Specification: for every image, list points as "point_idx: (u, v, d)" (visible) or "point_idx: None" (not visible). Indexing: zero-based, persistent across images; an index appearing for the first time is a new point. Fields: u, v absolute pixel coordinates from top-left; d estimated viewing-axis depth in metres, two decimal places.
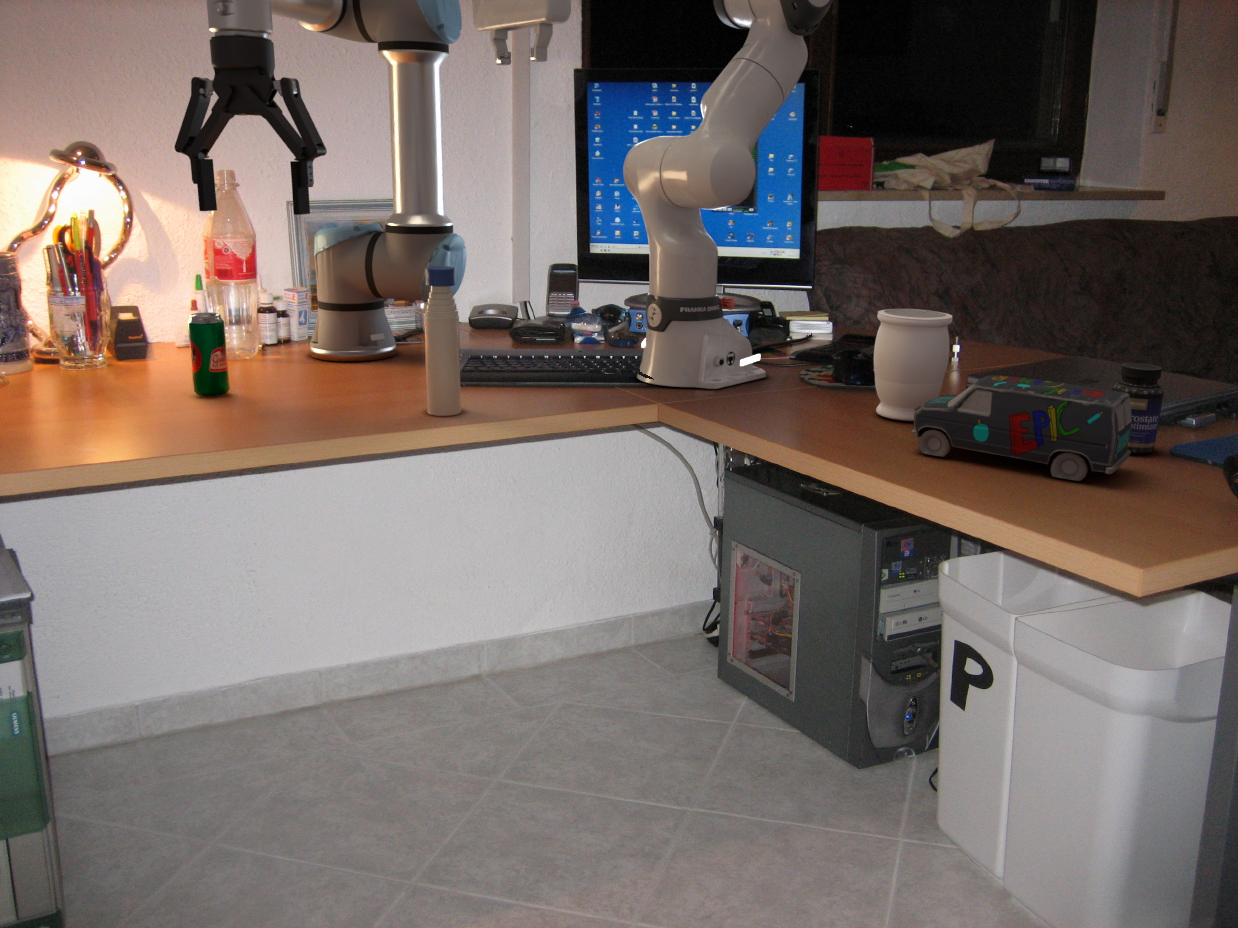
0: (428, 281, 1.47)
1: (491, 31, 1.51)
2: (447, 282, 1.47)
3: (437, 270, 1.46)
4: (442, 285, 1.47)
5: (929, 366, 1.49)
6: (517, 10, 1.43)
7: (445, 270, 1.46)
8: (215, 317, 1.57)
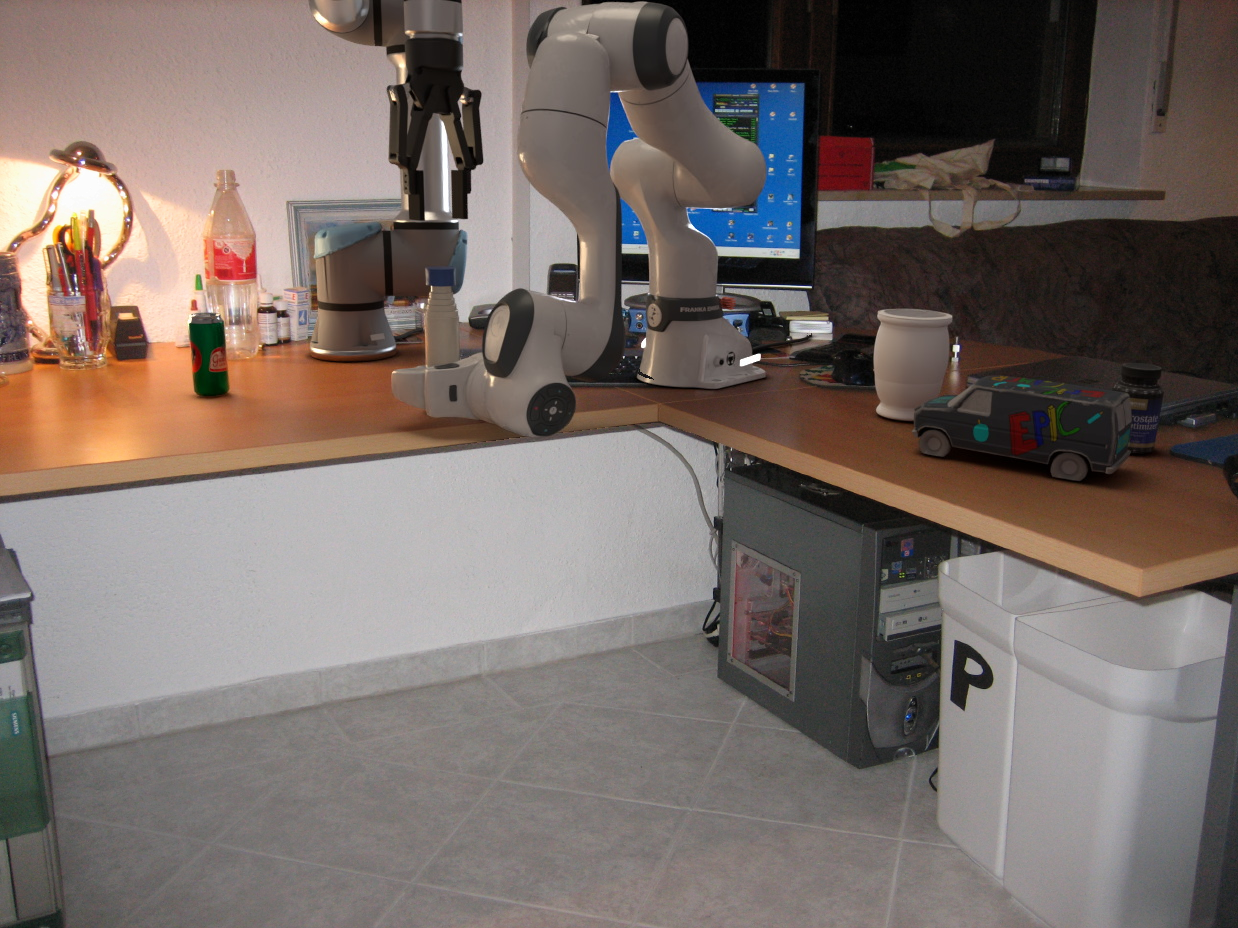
0: (428, 281, 1.47)
1: None
2: (447, 282, 1.47)
3: (437, 270, 1.46)
4: (442, 285, 1.47)
5: (929, 366, 1.49)
6: None
7: (445, 270, 1.46)
8: (215, 317, 1.57)
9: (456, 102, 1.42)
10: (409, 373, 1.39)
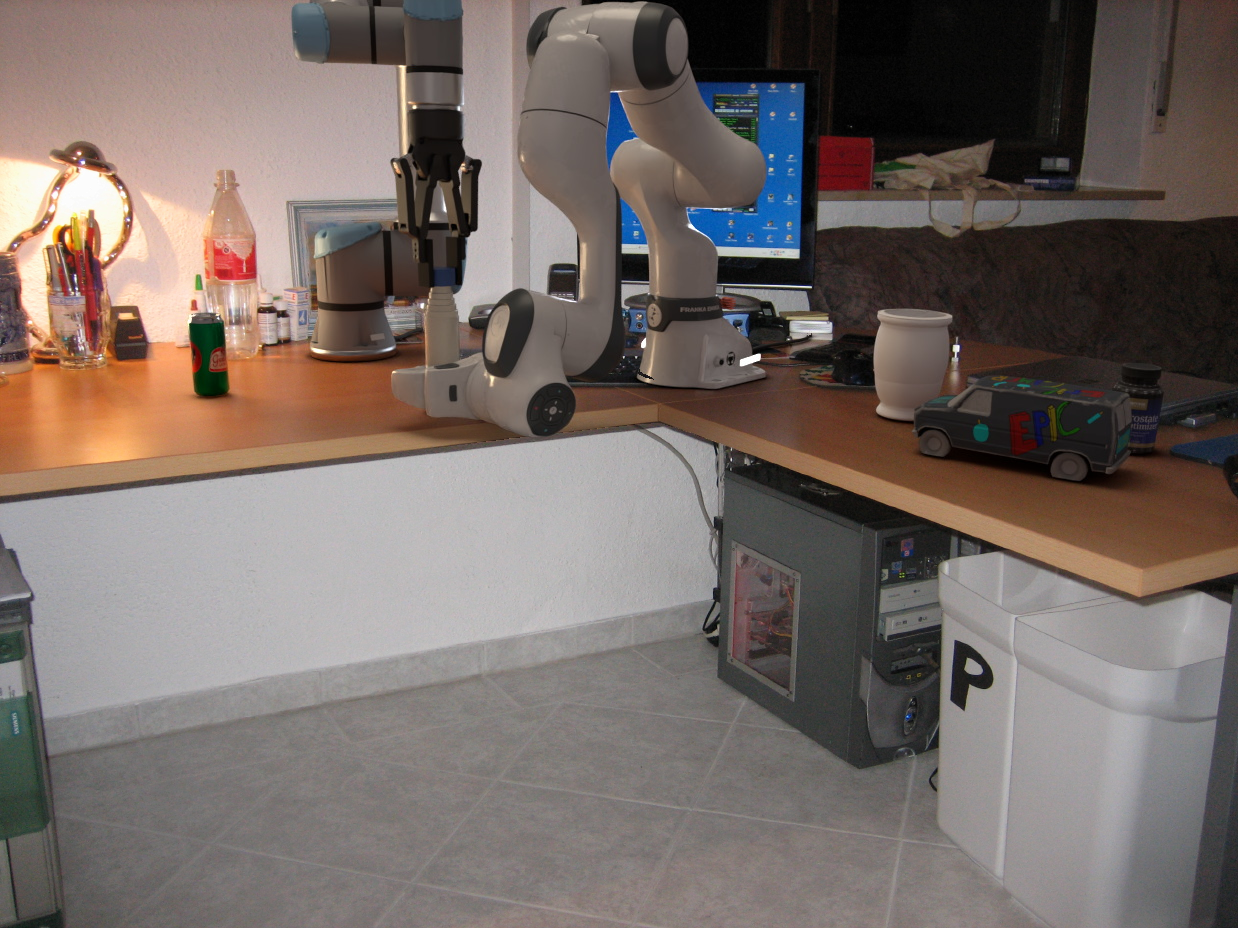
0: None
1: None
2: (447, 282, 1.47)
3: (437, 270, 1.46)
4: (442, 285, 1.47)
5: (929, 366, 1.49)
6: None
7: (445, 270, 1.46)
8: (215, 317, 1.57)
9: (457, 170, 1.45)
10: (409, 373, 1.39)
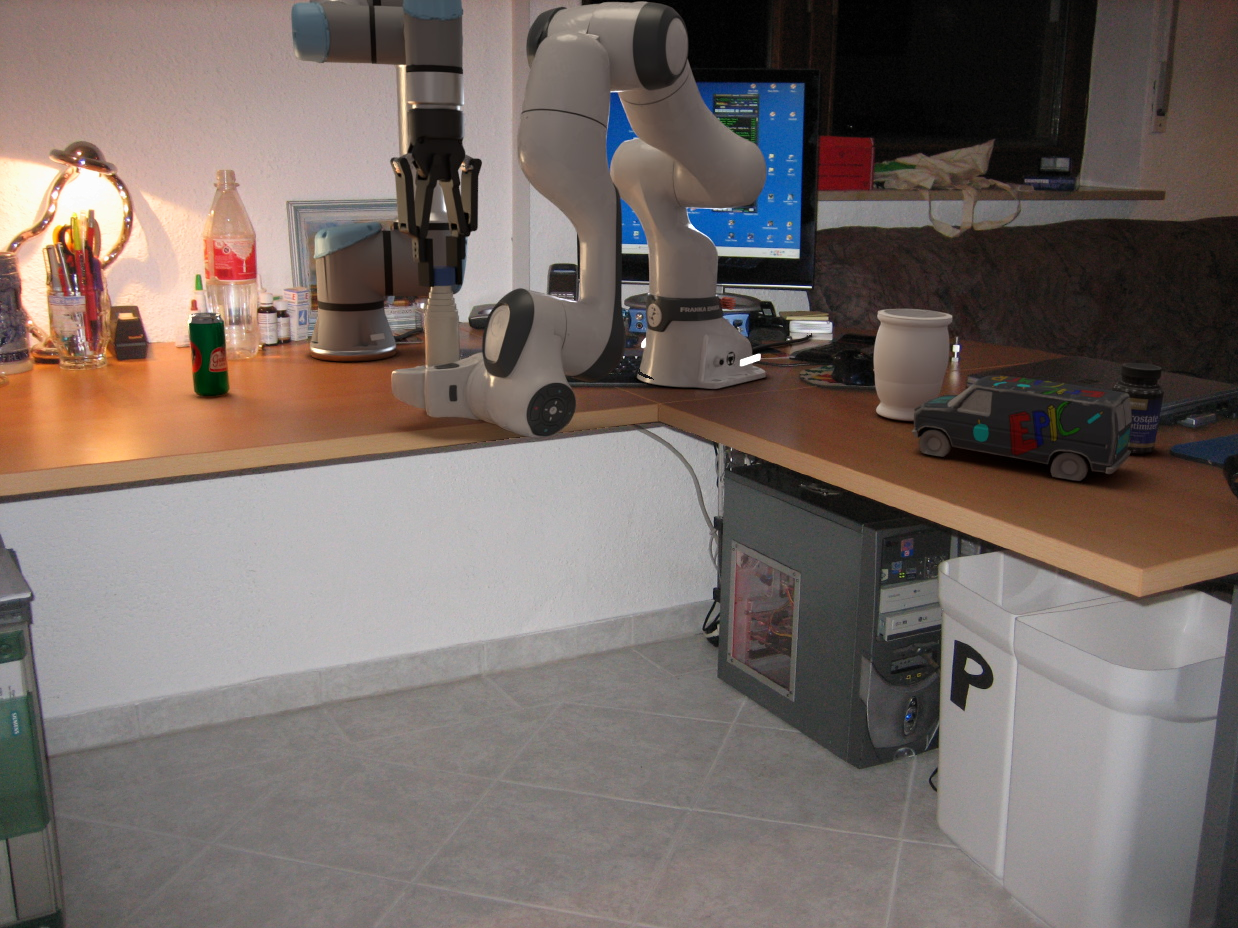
0: (447, 281, 1.47)
1: None
2: None
3: (454, 268, 1.48)
4: None
5: (929, 366, 1.49)
6: None
7: (454, 268, 1.49)
8: (215, 317, 1.57)
9: (457, 169, 1.45)
10: (409, 373, 1.39)
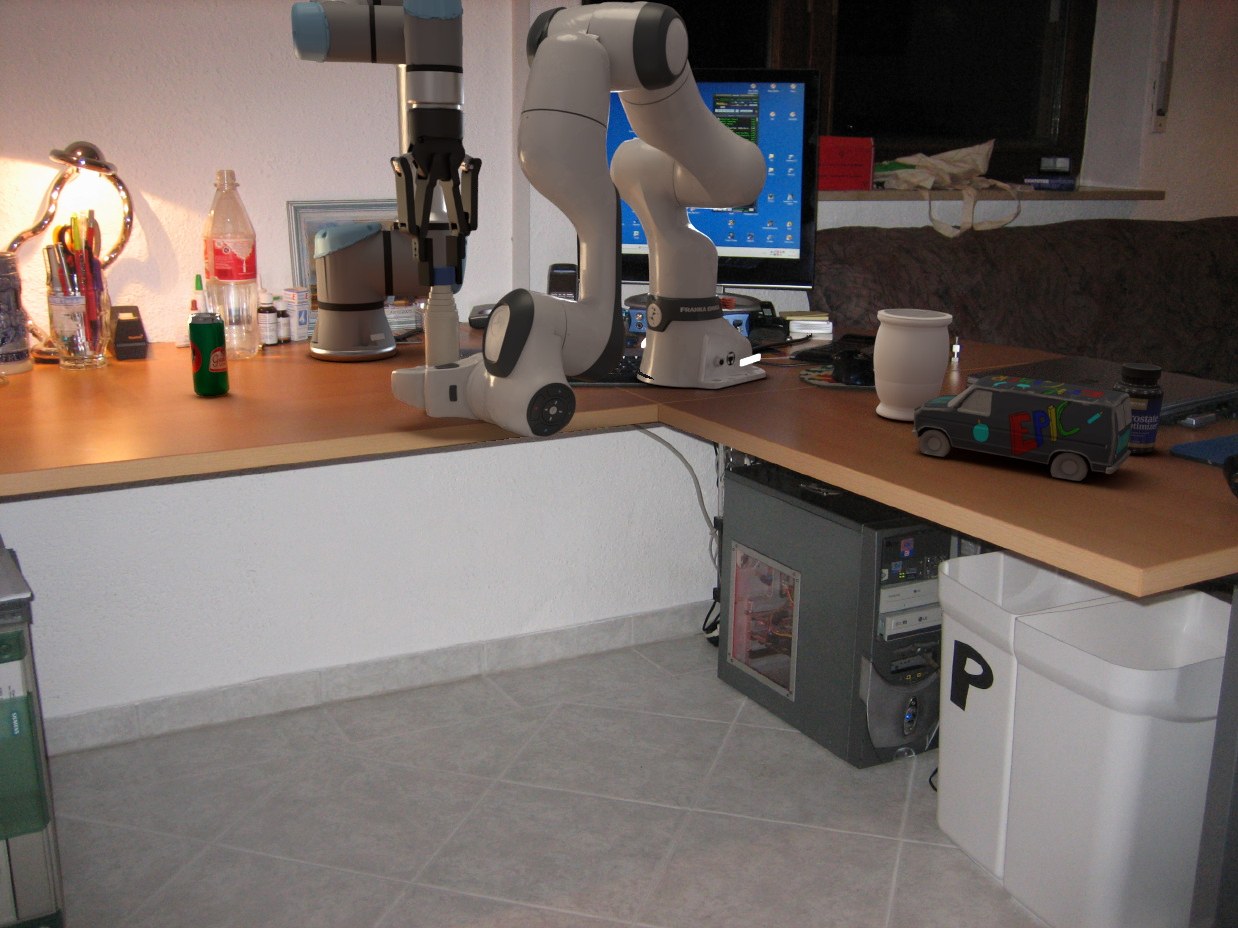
0: None
1: None
2: None
3: None
4: None
5: (929, 366, 1.49)
6: None
7: (438, 266, 1.50)
8: (215, 317, 1.57)
9: (457, 168, 1.45)
10: (409, 373, 1.39)
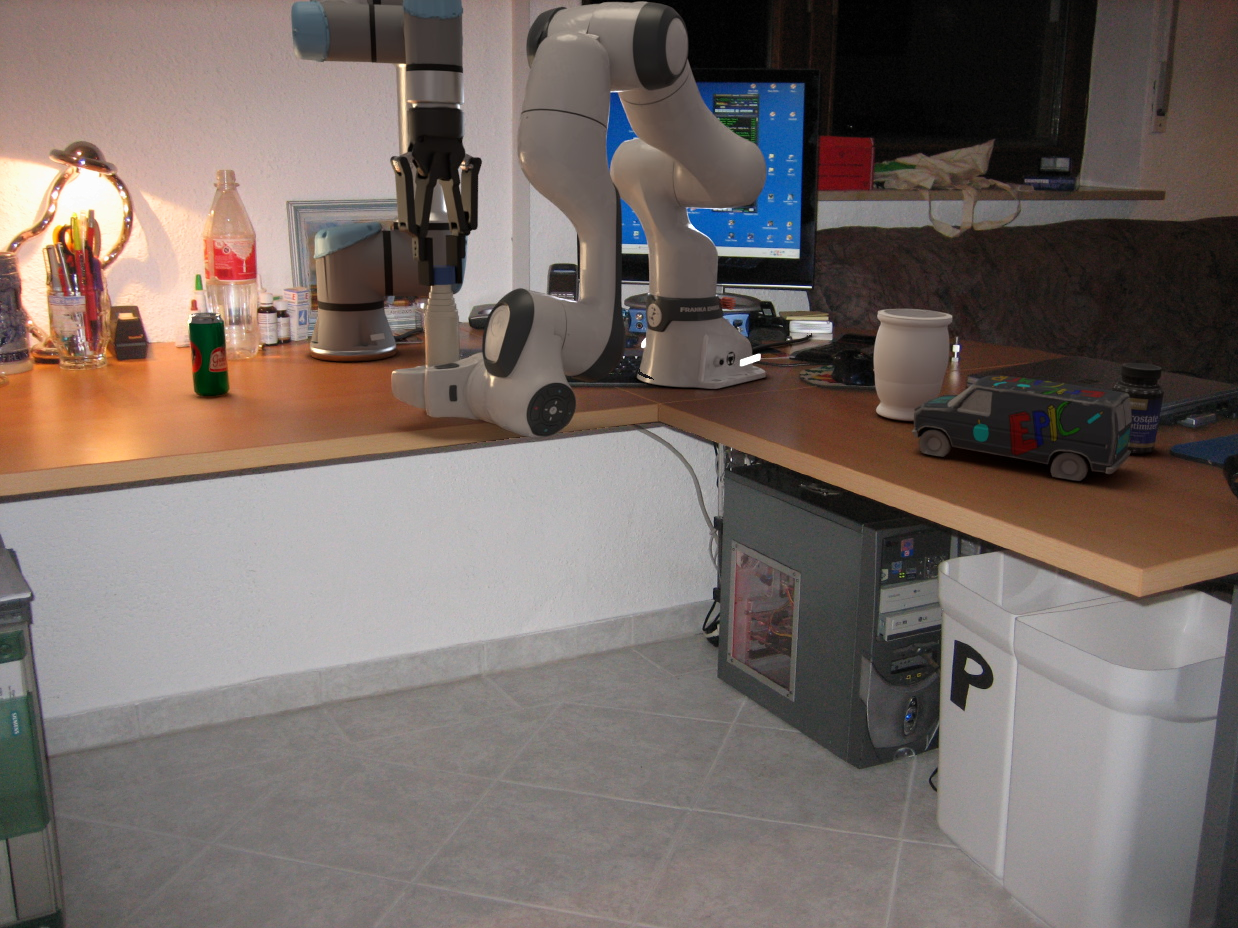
0: None
1: None
2: None
3: None
4: None
5: (929, 366, 1.49)
6: None
7: None
8: (215, 317, 1.57)
9: (457, 168, 1.45)
10: (409, 373, 1.39)
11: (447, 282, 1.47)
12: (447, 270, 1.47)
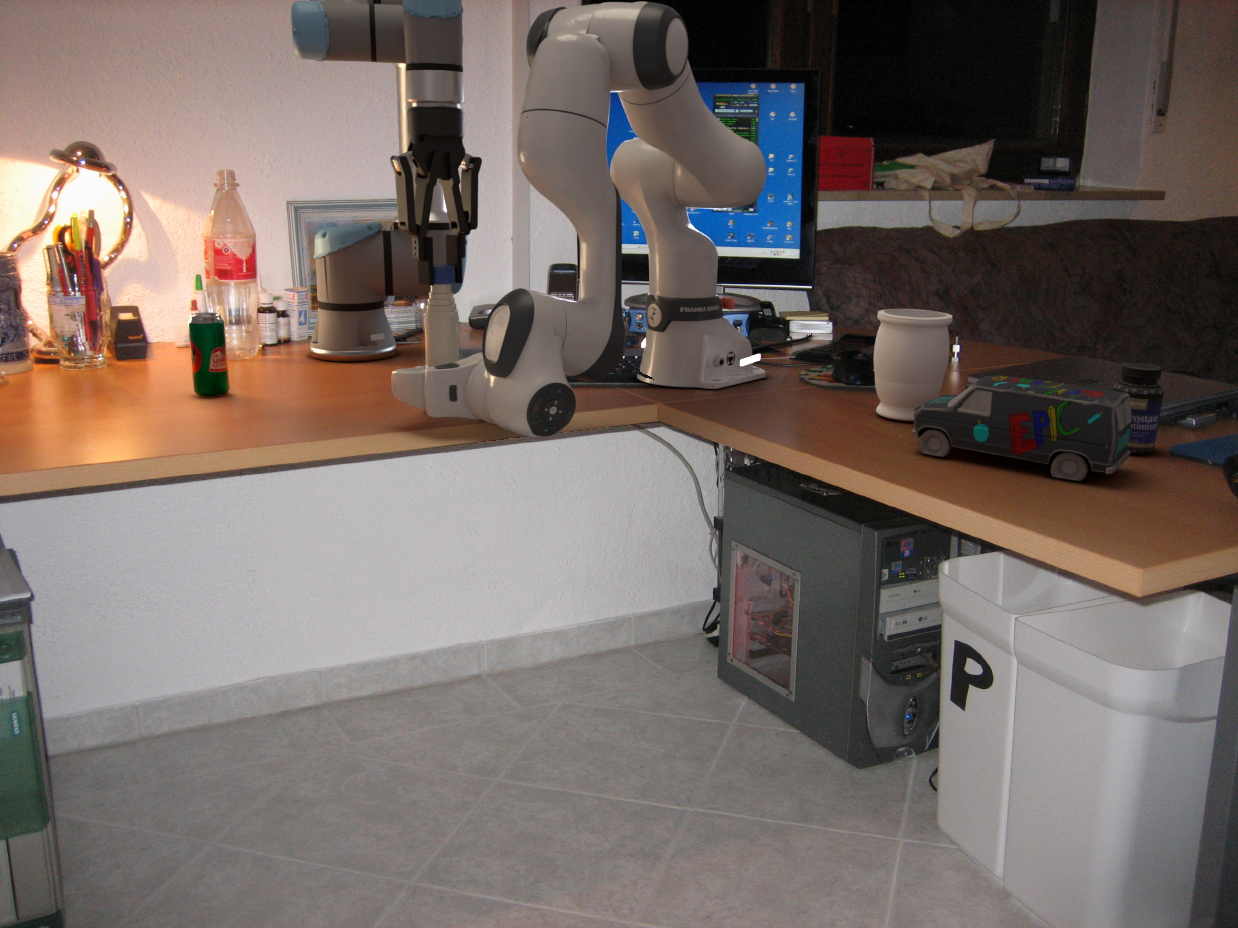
0: None
1: None
2: (441, 281, 1.47)
3: None
4: (435, 283, 1.47)
5: (929, 366, 1.49)
6: None
7: (438, 268, 1.46)
8: (215, 317, 1.57)
9: (457, 167, 1.44)
10: (409, 373, 1.39)
11: None
12: None
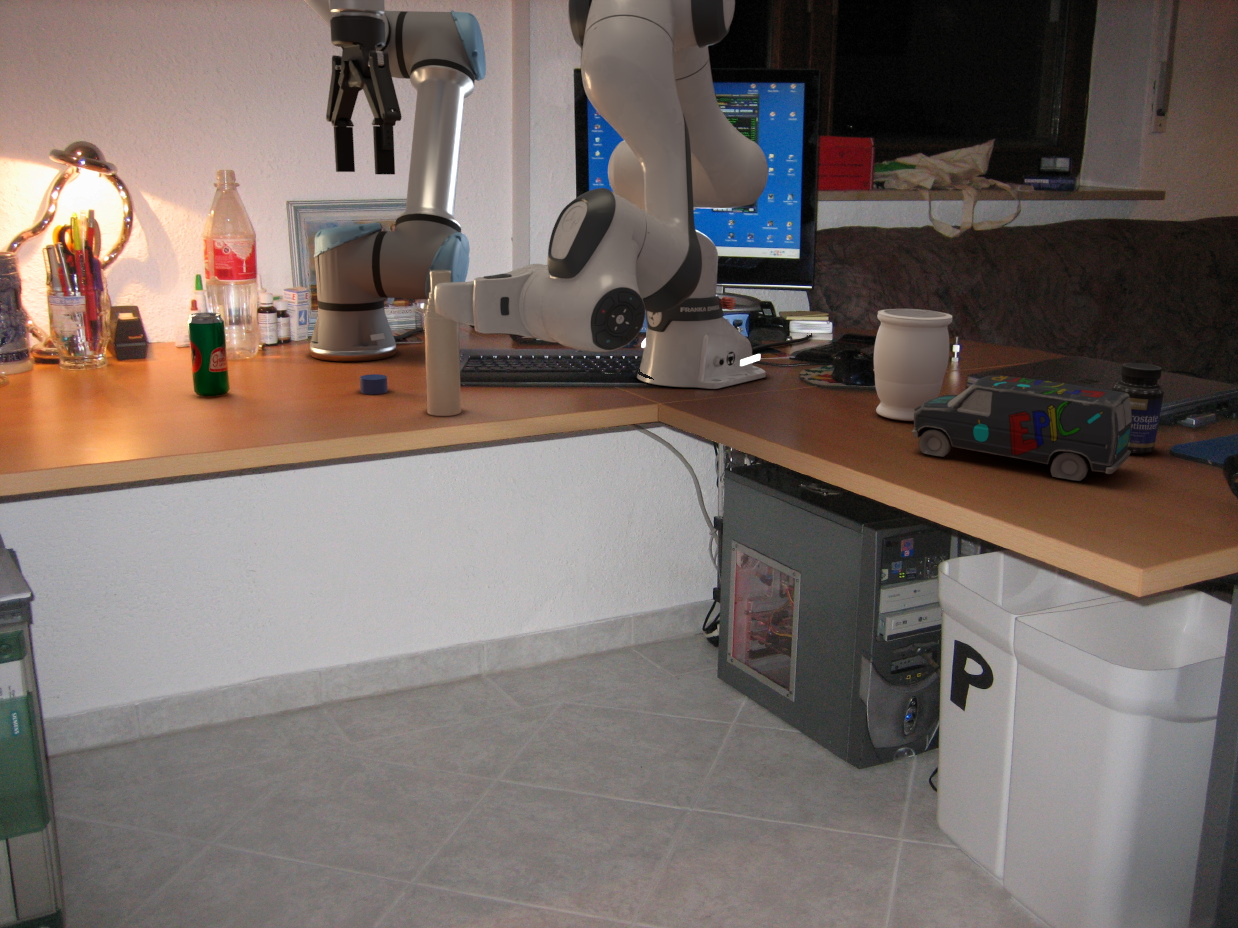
0: (373, 390, 1.64)
1: None
2: (386, 388, 1.66)
3: (382, 379, 1.64)
4: (385, 391, 1.65)
5: (929, 366, 1.49)
6: None
7: (386, 378, 1.65)
8: (215, 317, 1.57)
9: None
10: (455, 285, 1.25)
11: None
12: None
